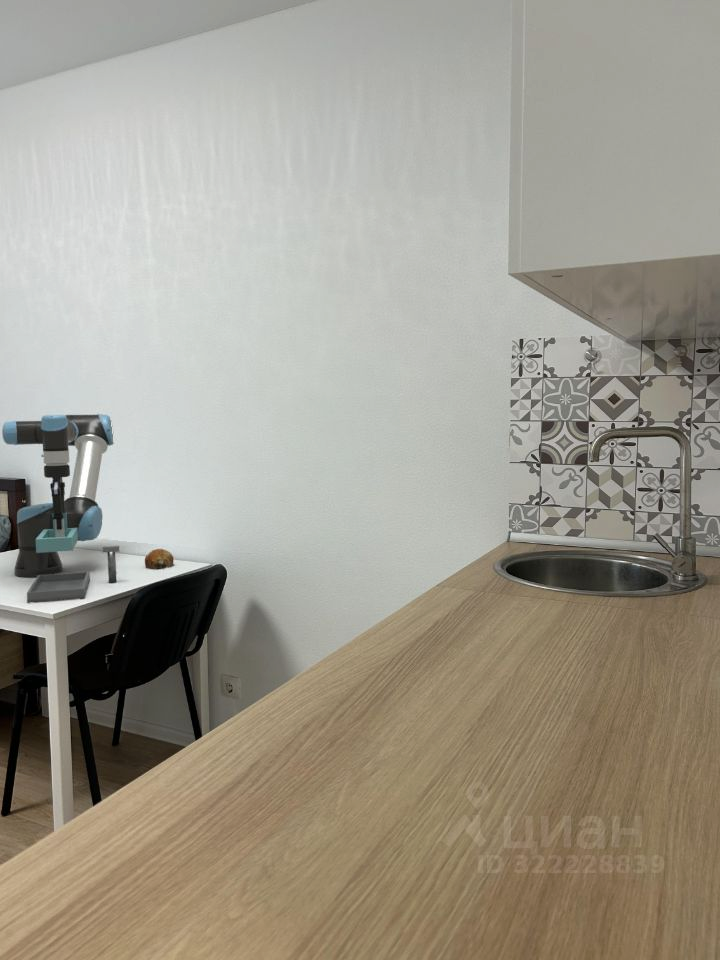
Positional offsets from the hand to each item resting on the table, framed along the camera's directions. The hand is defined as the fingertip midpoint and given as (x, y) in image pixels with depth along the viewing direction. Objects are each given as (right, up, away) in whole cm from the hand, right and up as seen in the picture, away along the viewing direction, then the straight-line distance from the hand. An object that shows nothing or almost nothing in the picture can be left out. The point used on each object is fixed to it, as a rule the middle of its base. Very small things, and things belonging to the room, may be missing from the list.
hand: (60, 538), depth 243 cm
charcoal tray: (+2, -16, -6) cm, 17 cm away
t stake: (+15, -14, +5) cm, 21 cm away
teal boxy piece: (+2, -2, -8) cm, 8 cm away
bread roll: (+24, -12, +28) cm, 39 cm away
